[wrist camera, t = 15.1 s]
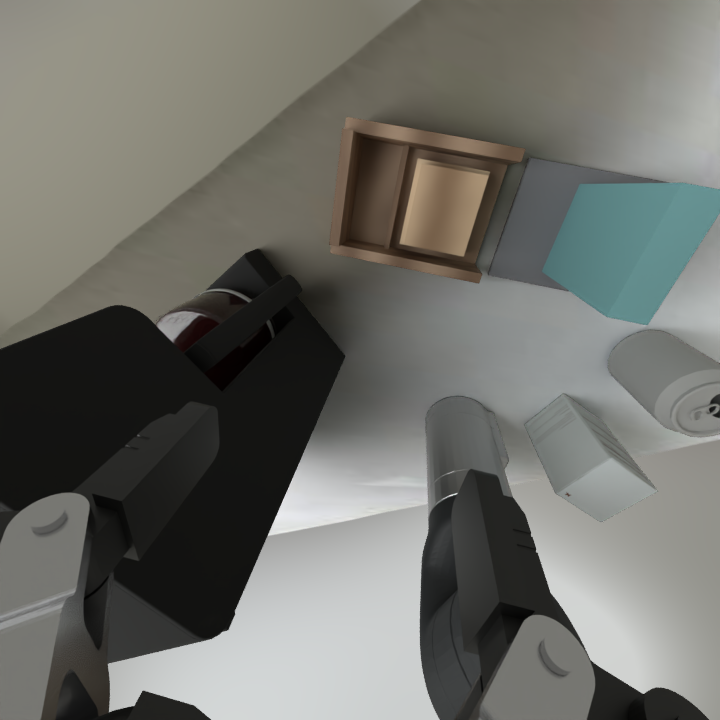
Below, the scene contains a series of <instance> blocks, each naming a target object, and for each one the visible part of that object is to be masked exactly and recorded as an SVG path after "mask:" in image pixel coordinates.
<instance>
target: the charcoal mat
mask: <svg viewBox="0 0 720 720" xmlns="http://www.w3.org/2000/svg"><path fill="white" fill-rule="evenodd" d="M623 183H668V182H663V181H657V180H652V179H646V178H641V177H635V176H630V175H624V174H619V173H613V172H607V171H602V170H596V169H591V168H585V167H580V166H574V165H569V164H563V163H557V162H552V161H546V160H541V159H535V158H529V159H528V161H527V164H526V167H525V170H524V173H523V176H522V178H521V181H520V184H519V187H518V190H517V192H516V195H515V198H514V201H513V204H512V207H511V209H510V212H509V215H508V218H507V221H506V224H505V226H504V229H503V232H502V235H501V238H500V240H499V243H498V246H497V249H496V252H495V255H494V257H493V260H492V263H491V266H490V269H489V271H488V275H491V276H496V277H500V278H505V279H510V280H515V281H520V282H525V283H530V284H535V285H540V286H545V287H550V288H555V289H560V290H565V291H569V290H567V289H566V288H564V287H563V286H562V285H560V284H559V283H557V282H556V281H554V280H553V279H552V278H550V277H549V276H547V275H546V274H544V273H543V272H542V270H543V267H544V265H545V263H546V260H547V258H548V256H549V254H550V251H551V249H552V247H553V244H554V242H555V240H556V237H557V235H558V233H559V231H560V228H561V226H562V224H563V221H564V219H565V217H566V214H567V212H568V210H569V208H570V205H571V203H572V201H573V198H574V196H575V194H576V191H577V189H578V187H579V185H580V184H623Z"/></svg>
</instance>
